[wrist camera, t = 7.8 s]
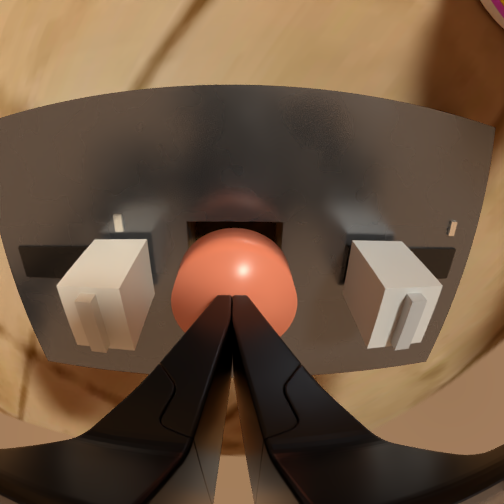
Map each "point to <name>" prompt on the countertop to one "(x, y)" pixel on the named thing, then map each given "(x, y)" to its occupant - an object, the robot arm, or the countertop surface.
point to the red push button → (235, 277)
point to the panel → (239, 201)
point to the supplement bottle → (495, 10)
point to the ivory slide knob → (108, 294)
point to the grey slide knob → (389, 293)
